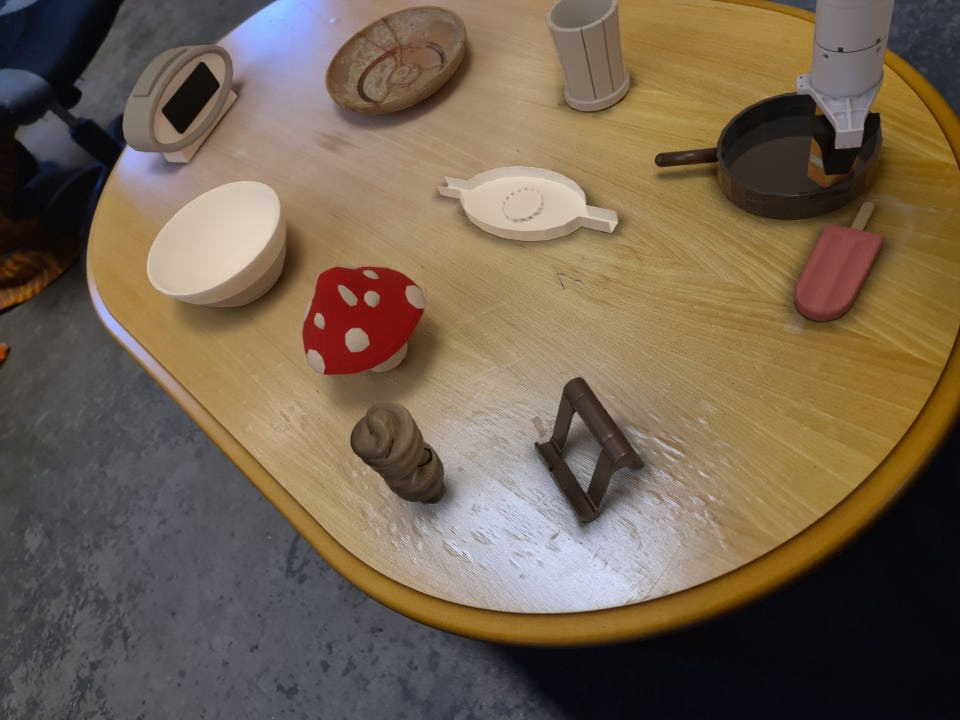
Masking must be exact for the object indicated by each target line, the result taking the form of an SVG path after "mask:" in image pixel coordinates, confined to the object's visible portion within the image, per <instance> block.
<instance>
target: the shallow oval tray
mask: <svg viewBox="0 0 960 720" xmlns="http://www.w3.org/2000/svg"><path fill="white" fill-rule="evenodd" d="M443 177H444V179H445V182H446V184H447V186H442V185H439V184H438V185H436V186H437V189H438V191H439V193H440V195H441V196H444V197H449V198H453V199H458V200H459V203H460V204H461V207H462V209H463V212H464V213H465V214H466V216H467V218H468V220H469V221H470V222H471V223H472V224H474V225H475V226H477V227H478V228H479V229H481V230H482V231H484V232H486V233H488V234H491V235H494V236H496V237H500V238H503V239H508V240H514V241H519V242H521V241H522V242H539V241H550V240H551V241H552V240H554V239H558V238H561V237H562V238H563V237H566V236H568V235H570V234H571V233H573V232H575V231H577V230H578V229H581V228H586V229H591V230H595V231H600V232H604V233H607V234H612V233H613V232H614V230H615V229H616V227H617V226H618V224H619V218H618V213H617V211H616V210H614V209H613V210H612V209H608V208H603V207H599V206H598V207H597V206H593V205H588V200H587V197H586V194H585V192H584V190H583V189H582V188H581V187H580V185H578V183H577V182H576V181H574V180H572V179H571V178H569V177H567V176H565V175H564V174H562V173H560V172H556V171H552V170H550V169H547V168H542V167H535V166H524V165H514V166H501V167H500V166H499V167H496V168H492V169H489V170H485V171H482V172H479V173H478V174H476V175H473V177H471V178H469V179H462V178H458V177H452V176H447V175H444V176H443Z"/></svg>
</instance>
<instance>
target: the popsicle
mask: <svg viewBox="0 0 960 720" xmlns="http://www.w3.org/2000/svg"><path fill="white" fill-rule="evenodd" d="M875 207H876V205H875V203H873V202H870V201H867V202H864V203H862V204H861V206H860V208H859V210H858V213H857V214H856V216H855V217H854V219H853V222H852V224H851V226H850V227H847V226H843V225H839V224H838V225H837V224H833V223H827V224H826V225H825V227H824V228H823V230H822V232H821V234H820V237H819V238H818V240H817V242H816V244H815V246H814V248H813V250H812V252H811V254H810V256H809V258H808V259H807V263H806V265H805V266H804V268H803V271H802V273H801V275H800V277H799V279H798V281H797V283H796V285H795V288H794V305H795V307H796V309H797V310H798V311H799V313H800V314H801V315H803V316H804V317H806V319H809V320H812V321H817V322H828V321H832V320H835V319H839V318H840V317H842V316H843V315H844V314H845V313H847V312H848V311H849V310H850V309H851V308H852V306H853V304H854V301H855V300H856V298H857V296H858V294H859V292H860V290H861V289H862V287H863V284H864V283H865V281H866V279H867V277H868V275H869V273H870V271H871V269H872V268H873V265H874V264H875V261H876V259H877V258H878V255H879V253H880V251H881V249H882V246H883V245H884V241H885V236H884V234H882V233H881V234H880V233H875V232H872V231H871V232H870V231H866V230H865V228H866V226H867V224H868V221H869V220H870V218H871V216H872V215H873V212H874V210H875V209H876V208H875Z"/></svg>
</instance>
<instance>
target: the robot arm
mask: <svg viewBox="0 0 960 720" xmlns="http://www.w3.org/2000/svg"><path fill="white" fill-rule="evenodd" d="M815 3H816V4H815V14H814V15H815V17H814V29H813V41H812V42H813V44H812V54H811V64H810V65H811V66H810V71H809V72H808V73H803V74H800V75H798V76H796V79H795V92H797V94H800V95H803V94H809V95H811V96H812V98H813V99H814V101H815V102H816V104H817V105H818V106H819V107H820V109H821V110H822V112H823V113H824V114H822V115H813V116H810V130H811V134H812V137H813V139H814V140H815V141H816V142H817V143H818V145H819V147H820V150H821V154H822V163H823V169H824V172H825V175H838V174H847V173H849V171H850V169H851V168H852V166H853V164H854V162H855V160H856V157H857V155H858V153H859V152H860V150H861V148H862V147H863V145H864V144H865V143H866V142H867V141H868V140H869V139H870V138H871V137H872V136H873V135H875V134H876V133H877V132H878V130H879V127H880V125H881V124H882V123H881V115H880V112H872V113H869V111H871V109H872V108H873V105H874V103H875V101H876V98H877V96H878V94H879V92H880V90H881V88H882V87H883V84H884V79H885V70H884V64H885V58H886V51H887V45H888V42H889V35H890V28H891V22H892V17H893V12H894V6H895V0H816V2H815ZM868 113H869V114H868Z"/></svg>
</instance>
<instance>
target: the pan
mask: <svg viewBox="0 0 960 720" xmlns="http://www.w3.org/2000/svg"><path fill="white" fill-rule="evenodd" d="M816 105H817V104H816V102H815V101H814V99H813V98H812V96H811V95H809V94H803V95H800V94H797V92H796V91H792V92H784V93H780V94H777V95H773V96H769V97H767V98H763V99H762V100H759V101H757V102H755V103H753V104H751V105H748V106H747V107H745V108H743V109H742V110H740V112H738V113H736V114H735V115H734V116H733V117H732V118H731V119H730V120H729V121H728V123H727V124H726V125H725V126H724V127H723V129H722V130H721V133H720V135H719V137H718V139H717V142H716V148H717V154H716V156H717V162H716V175H717V179H718V183H719V184H718V185H719V187H720V188H721V191H722V192H723V193H724V195H725V196H726V198H728V200H730V202H732V204H734V205H735V206H736V207H738V208H740V209H742V210H743V211H746V212H748V213H749V214H752V215H755V216H759V217H762V218H767V219H773V220H788V221H789V220H794V221H795V220H805V219H811V218H815V217H816V218H817V217H820V216H824V215H827V214H830V213H832V212H836V211H838V210H840V209H842V208H844V207H845V206H847V205H849V204H850V203H852V202H853V201H855V200H856V199H858V198H859V197H860V196H861V195H862V194H864V192H865V191H866V190H867V189H868V188H869V187H870V184H871V183H872V181H873V180H874V178H875V175H876V173H877V169H878V165H879V163H880V162H879V161H880V156H881V152H882V147H883V142H884V138H883V129H882V125H881V124H880V127H879V130H878V132H877V133H876V134H875V135H873V136H872V137H871V138H870V139H869V140H868V141H867V142H866V143H865V144H864V145H863V147H862V148H861V150H860V152H859V153H858V157H857V161H856V166H855V171H854V174H853V175H851V176H850V177H849V178H847V179H844V180H842V181H840V182H838V183H836V184H833V185H831V186H828V187H822V186H821V185H819V184H818V183H816V182H815V181H813V180H812V179H810V178H809V177H808V176H807V173H808V165H809V158H810V150H811V143H812V134H811V130H810V116H813V115H815V113H816ZM869 113H873V112H872V110H870V111H869ZM869 113H868V114H869ZM722 149H723V150H724V153H725V155H724V158H722Z"/></svg>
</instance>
